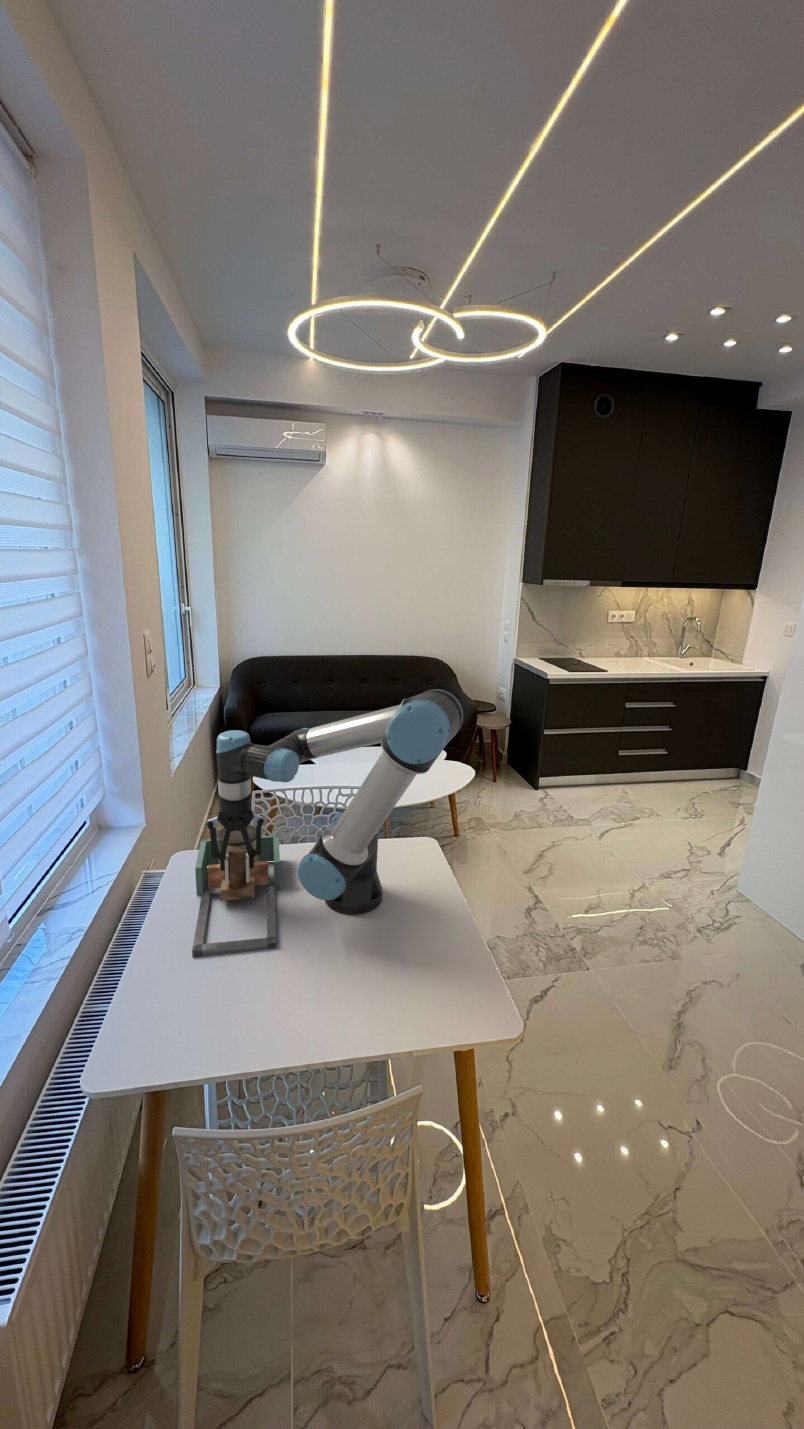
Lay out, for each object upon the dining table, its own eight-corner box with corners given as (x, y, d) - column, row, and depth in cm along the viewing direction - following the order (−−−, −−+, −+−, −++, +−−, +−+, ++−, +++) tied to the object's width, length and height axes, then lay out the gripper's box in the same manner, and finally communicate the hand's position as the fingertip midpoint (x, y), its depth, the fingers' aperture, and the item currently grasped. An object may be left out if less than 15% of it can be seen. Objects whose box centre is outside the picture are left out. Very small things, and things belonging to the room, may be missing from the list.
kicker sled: (268, 880, 155) (267, 840, 151) (268, 896, 148) (268, 854, 145) (209, 885, 151) (206, 843, 148) (206, 901, 144) (204, 858, 141)
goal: (278, 860, 169) (278, 835, 166) (280, 888, 155) (279, 861, 153) (202, 865, 164) (200, 839, 162) (196, 895, 150) (195, 867, 148)
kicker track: (274, 890, 154) (274, 885, 154) (276, 948, 132) (276, 942, 132) (202, 896, 150) (202, 891, 149) (192, 956, 128) (192, 950, 128)
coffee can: (211, 881, 157) (209, 833, 153) (241, 865, 165) (240, 820, 161) (237, 895, 151) (235, 846, 147) (267, 878, 160) (266, 831, 156)
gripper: (271, 786, 146) (272, 869, 153) (198, 789, 142) (203, 874, 149) (272, 799, 139) (273, 885, 146) (195, 802, 135) (200, 891, 142)
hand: (237, 879), depth 147 cm, fingers open, 4 cm apart
